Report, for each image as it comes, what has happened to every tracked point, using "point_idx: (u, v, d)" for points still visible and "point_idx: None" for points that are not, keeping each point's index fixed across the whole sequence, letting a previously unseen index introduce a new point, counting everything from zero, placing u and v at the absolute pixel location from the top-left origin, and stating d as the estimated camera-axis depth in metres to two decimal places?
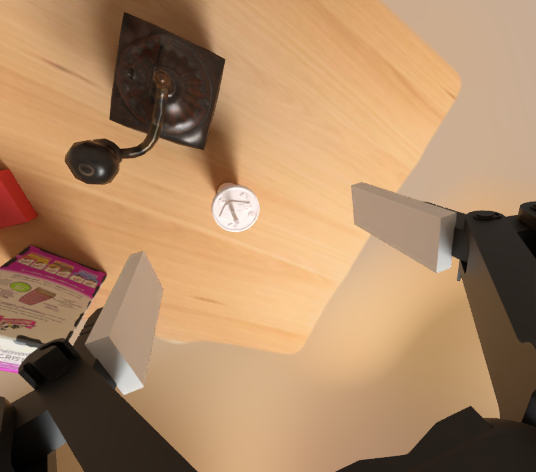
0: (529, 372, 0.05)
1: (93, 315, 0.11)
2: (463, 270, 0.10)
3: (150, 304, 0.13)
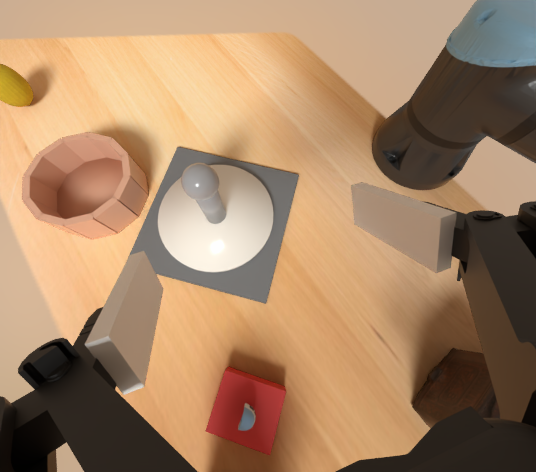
0: (529, 372, 0.05)
1: (93, 315, 0.11)
2: (463, 270, 0.10)
3: (150, 304, 0.13)
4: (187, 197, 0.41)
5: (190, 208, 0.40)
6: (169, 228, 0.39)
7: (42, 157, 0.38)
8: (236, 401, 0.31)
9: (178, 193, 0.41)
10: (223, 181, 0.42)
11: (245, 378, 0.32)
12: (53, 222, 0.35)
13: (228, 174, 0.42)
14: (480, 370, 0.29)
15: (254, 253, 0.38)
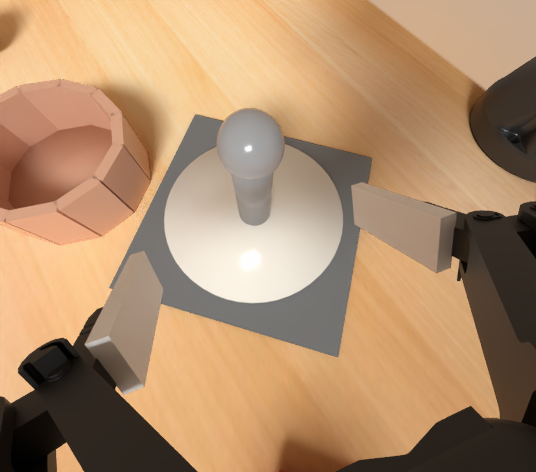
0: (529, 372, 0.05)
1: (93, 315, 0.11)
2: (463, 270, 0.10)
3: (150, 304, 0.13)
4: (210, 184, 0.27)
5: (215, 201, 0.26)
6: (182, 231, 0.25)
7: None
8: None
9: (196, 178, 0.27)
10: None
11: None
12: None
13: None
14: None
15: (317, 274, 0.24)
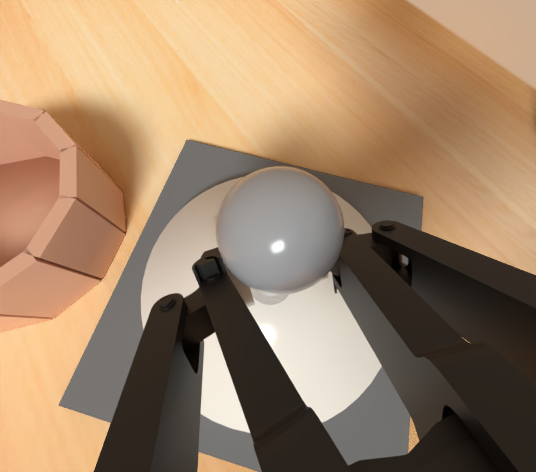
0: (434, 386, 0.05)
1: (204, 255, 0.13)
2: (338, 284, 0.11)
3: None
4: (207, 242, 0.19)
5: None
6: None
7: None
8: None
9: (188, 233, 0.19)
10: None
11: None
12: None
13: None
14: None
15: (366, 383, 0.16)
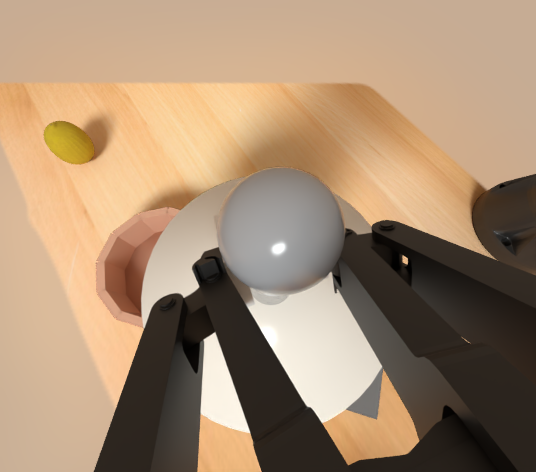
0: (433, 387, 0.05)
1: (204, 255, 0.13)
2: (338, 284, 0.11)
3: None
4: (207, 242, 0.19)
5: None
6: None
7: (117, 237, 0.33)
8: None
9: (188, 233, 0.19)
10: None
11: None
12: (135, 323, 0.29)
13: None
14: None
15: (367, 383, 0.16)
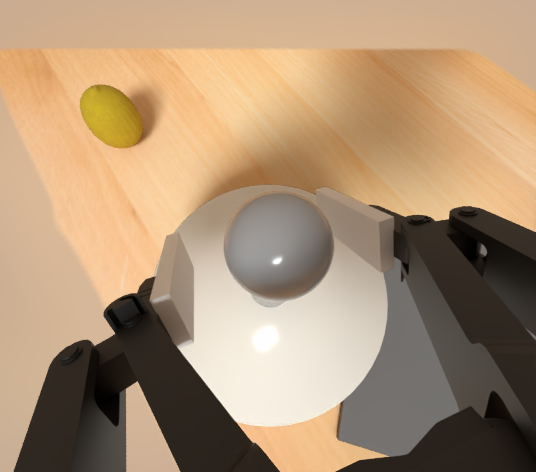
0: (484, 373, 0.05)
1: (143, 284, 0.12)
2: (405, 272, 0.11)
3: (188, 278, 0.14)
4: (211, 249, 0.20)
5: (218, 272, 0.20)
6: None
7: None
8: None
9: (193, 240, 0.21)
10: None
11: None
12: None
13: None
14: None
15: (359, 379, 0.17)
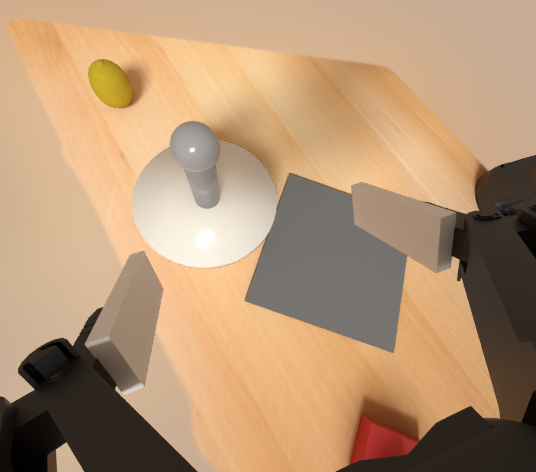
0: (529, 372, 0.05)
1: (93, 315, 0.11)
2: (463, 270, 0.10)
3: (150, 304, 0.13)
4: (173, 173, 0.33)
5: (175, 186, 0.32)
6: (146, 208, 0.31)
7: None
8: None
9: (162, 167, 0.33)
10: (219, 159, 0.34)
11: (392, 433, 0.31)
12: None
13: (226, 152, 0.35)
14: None
15: (251, 249, 0.31)
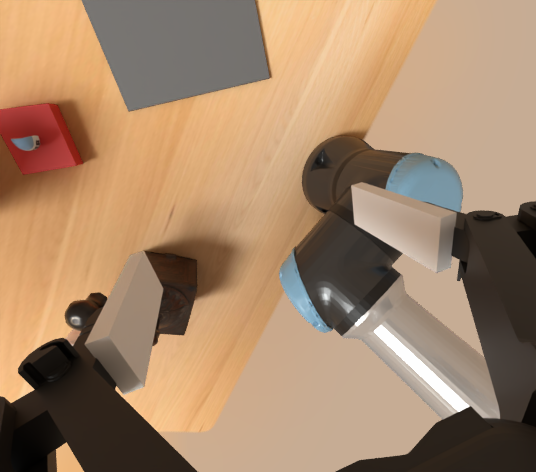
0: (529, 372, 0.05)
1: (93, 315, 0.11)
2: (463, 270, 0.10)
3: (150, 304, 0.13)
4: None
5: None
6: None
7: None
8: (34, 127, 0.34)
9: None
10: None
11: (57, 126, 0.34)
12: None
13: None
14: (182, 275, 0.43)
15: None
